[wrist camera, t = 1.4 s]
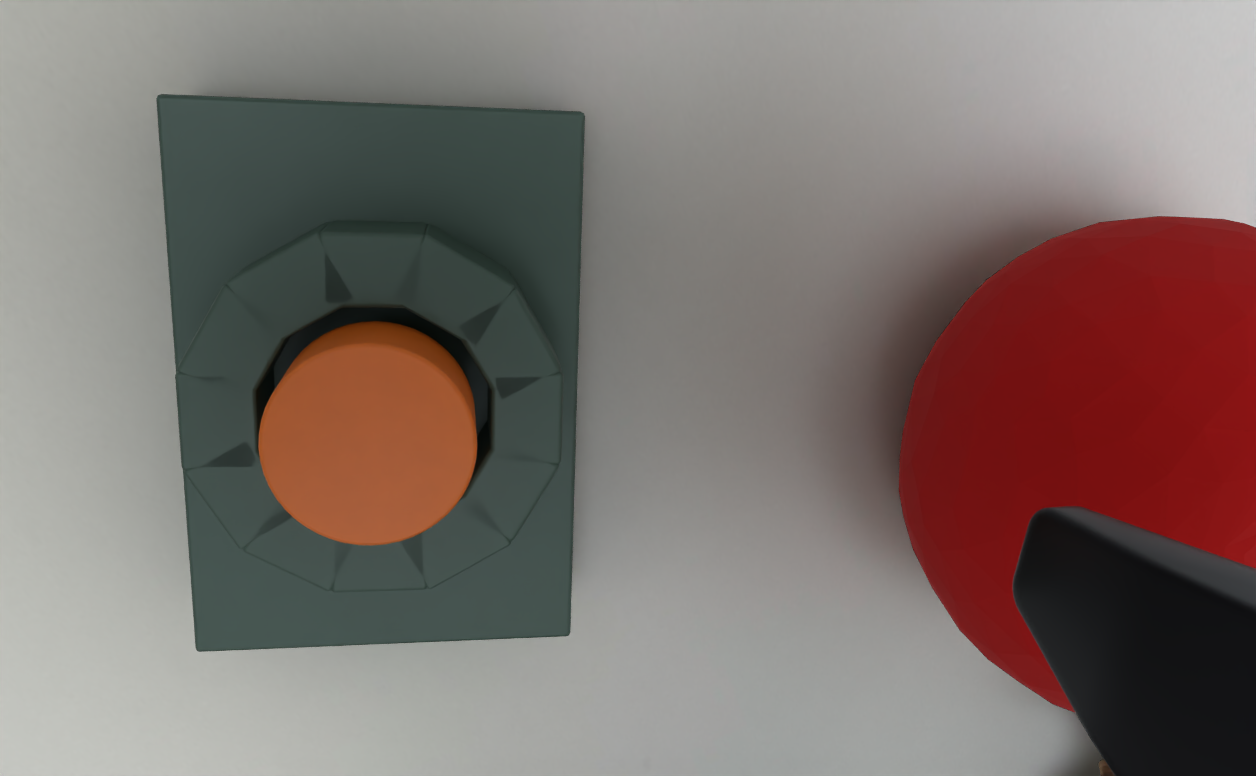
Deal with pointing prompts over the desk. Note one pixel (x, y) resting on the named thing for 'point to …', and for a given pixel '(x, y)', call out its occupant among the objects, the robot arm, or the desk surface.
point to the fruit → (1085, 413)
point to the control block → (389, 292)
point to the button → (370, 434)
